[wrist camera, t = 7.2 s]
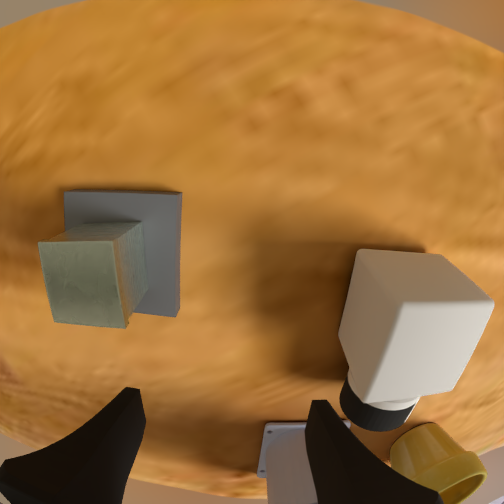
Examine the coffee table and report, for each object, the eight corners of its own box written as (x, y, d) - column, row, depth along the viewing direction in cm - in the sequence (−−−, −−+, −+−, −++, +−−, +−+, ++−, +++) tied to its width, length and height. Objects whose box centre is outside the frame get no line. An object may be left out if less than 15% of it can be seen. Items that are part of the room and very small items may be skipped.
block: (181, 304, 22) (175, 317, 20) (84, 292, 22) (72, 303, 20) (183, 191, 20) (177, 195, 18) (78, 188, 19) (64, 191, 18)
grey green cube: (150, 290, 19) (125, 328, 15) (88, 287, 19) (54, 322, 15) (143, 219, 18) (112, 240, 13) (79, 222, 18) (37, 242, 13)
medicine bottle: (356, 246, 20) (323, 379, 24) (399, 304, 13) (339, 448, 18) (441, 252, 20) (397, 375, 24) (498, 302, 13) (424, 434, 18)
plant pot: (407, 470, 29) (430, 525, 20) (355, 462, 27) (376, 530, 18) (465, 418, 27) (500, 471, 17) (422, 401, 25) (463, 470, 16)
